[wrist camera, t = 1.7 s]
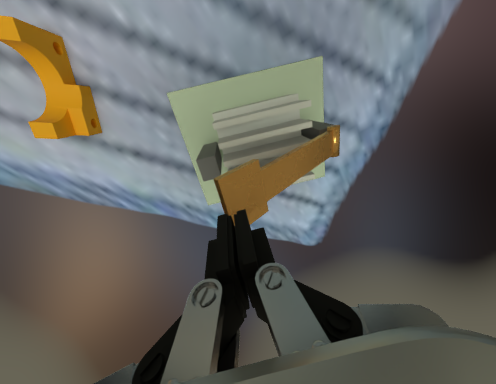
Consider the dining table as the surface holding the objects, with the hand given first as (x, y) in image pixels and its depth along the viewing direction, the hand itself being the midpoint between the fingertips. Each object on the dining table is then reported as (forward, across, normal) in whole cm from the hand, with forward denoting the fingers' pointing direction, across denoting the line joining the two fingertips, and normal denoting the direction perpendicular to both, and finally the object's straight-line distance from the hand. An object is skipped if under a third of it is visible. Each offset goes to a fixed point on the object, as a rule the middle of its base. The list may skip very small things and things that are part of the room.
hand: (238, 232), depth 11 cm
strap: (+9, -6, 0) cm, 11 cm away
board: (+24, -5, 0) cm, 25 cm away
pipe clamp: (+25, +20, -13) cm, 34 cm away
